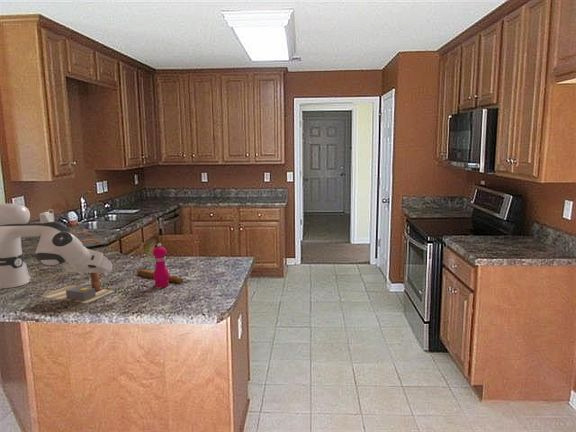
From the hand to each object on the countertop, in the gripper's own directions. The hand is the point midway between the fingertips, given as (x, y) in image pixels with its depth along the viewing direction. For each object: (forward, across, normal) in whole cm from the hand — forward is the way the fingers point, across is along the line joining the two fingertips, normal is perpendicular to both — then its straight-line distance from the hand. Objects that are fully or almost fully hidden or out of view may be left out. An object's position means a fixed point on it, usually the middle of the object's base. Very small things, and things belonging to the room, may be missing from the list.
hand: (95, 274), depth 195 cm
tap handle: (+22, +20, +9) cm, 31 cm away
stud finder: (-1, -2, -11) cm, 12 cm away
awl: (+5, 0, -6) cm, 7 cm away
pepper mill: (+14, +25, +2) cm, 29 cm away
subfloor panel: (+3, -6, -9) cm, 12 cm away
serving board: (+73, -62, +60) cm, 113 cm away
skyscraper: (+52, -66, +39) cm, 93 cm away
